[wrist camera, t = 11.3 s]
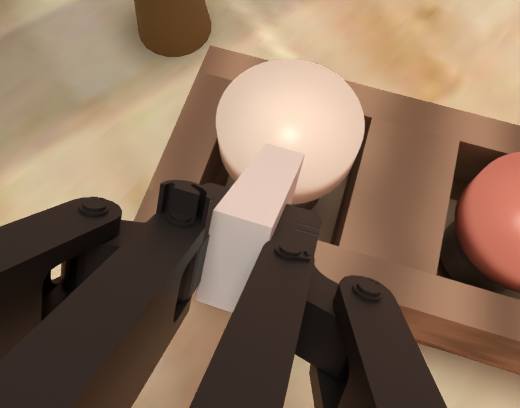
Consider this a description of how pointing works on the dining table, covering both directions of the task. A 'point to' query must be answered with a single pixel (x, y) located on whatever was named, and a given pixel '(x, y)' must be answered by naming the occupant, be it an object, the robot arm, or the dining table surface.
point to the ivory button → (292, 123)
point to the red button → (487, 229)
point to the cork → (173, 25)
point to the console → (380, 205)
